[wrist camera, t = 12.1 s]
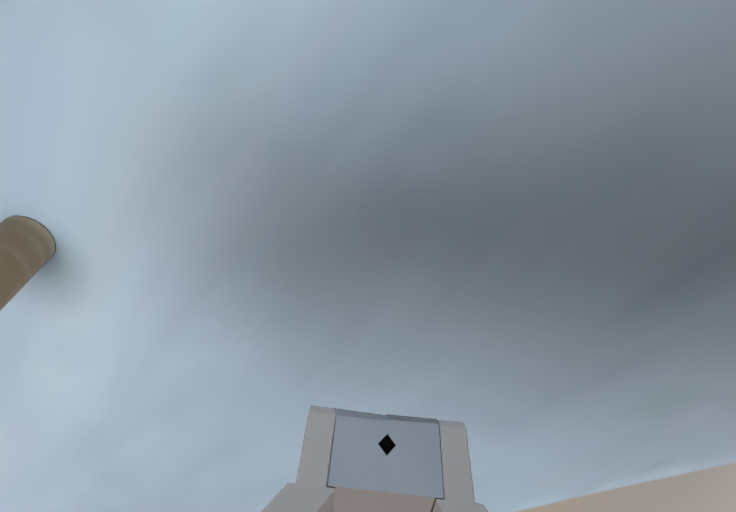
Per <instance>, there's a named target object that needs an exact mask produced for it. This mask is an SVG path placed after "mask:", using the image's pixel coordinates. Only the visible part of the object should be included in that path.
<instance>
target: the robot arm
mask: <svg viewBox="0 0 736 512" xmlns="http://www.w3.org/2000/svg"><path fill="white" fill-rule="evenodd" d="M261 512H488V510H487V509H486V508H485V506H484V505H483V504H478V503H475V498H474V489H473V481H472V473H471V464H470V456H469V448H468V439H467V431H466V427H465V425H464V423H462V422H453V421H443V420H437V419H430V418H420V417H409V416H399V415H389V414H387V415H380V414H373V413H365V412H358V411H351V410H344V409H337V414H336V408H328V407H320V406H311V407H310V410H309V413H308V418H307V423H306V429H305V434H304V440H303V445H302V451H301V456H300V462H299V467H298V473H297V478H296V484H295V483H287V484H286V485H285V486H284V488H283V489H282V490H281V491H280V492H279V493H278V494H277V495H276V496H275V497H274V498H273V499H272V500H271V502H270V503H269V504H268V505H267V506H266V507H265V508H264V509H263V510H262V511H261Z"/></svg>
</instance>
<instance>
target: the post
mask: <svg viewBox="0 0 736 512" xmlns="http://www.w3.org/2000/svg"><path fill="white" fill-rule="evenodd" d="M54 252H55V242H54V239H53V237H52V235H51V234H50V233H49V231H48V230H47V229H46V228H45V227H44V226H42V225H41V224H40V223H38V222H36V221H34V220H32V219H30V218H27V217H22V216H12V217H9V218H7V219H5V220H4V221H3V222H1V223H0V310H1V309H2V308H3V307H4V306H5V305H6V304H7V303H8V302H9V301H10V300H11V299H12V298H13V297H14V296H15V295H16V294H17V292H18V291H19V290H20V289H21V288H22V287H23V286H24V285H25V284H26V283H27V282H28V281H29V280H30V279H31V278H32V277H33V276H34V275H35V273H36V272H37V271H38V270H39V269H40V268H41V267H42V266H43V265H44V264H45V263H46V262H47V261H48V260H49V259H50V258H51V257H52V255H53V254H54Z"/></svg>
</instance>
